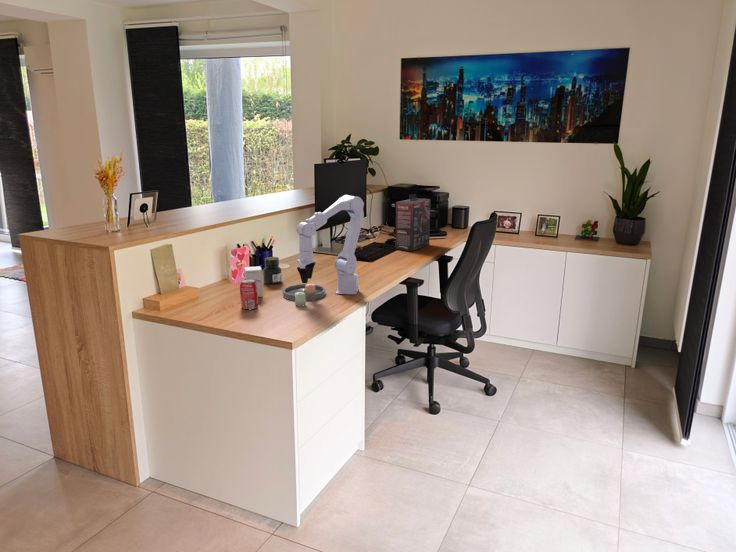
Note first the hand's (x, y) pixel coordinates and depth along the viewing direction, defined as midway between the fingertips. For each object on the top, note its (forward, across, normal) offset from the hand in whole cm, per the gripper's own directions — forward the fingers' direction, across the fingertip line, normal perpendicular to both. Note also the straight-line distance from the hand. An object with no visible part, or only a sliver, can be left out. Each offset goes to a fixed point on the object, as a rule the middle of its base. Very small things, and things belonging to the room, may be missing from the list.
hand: (306, 280), depth 241 cm
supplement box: (+9, -3, -25) cm, 27 cm away
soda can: (+9, +15, -21) cm, 27 cm away
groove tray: (+8, -7, -3) cm, 12 cm away
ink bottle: (+9, -25, -23) cm, 35 cm away
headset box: (+8, -116, +40) cm, 123 cm away
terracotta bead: (+8, -3, +1) cm, 9 cm away
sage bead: (+9, +8, -1) cm, 12 cm away
